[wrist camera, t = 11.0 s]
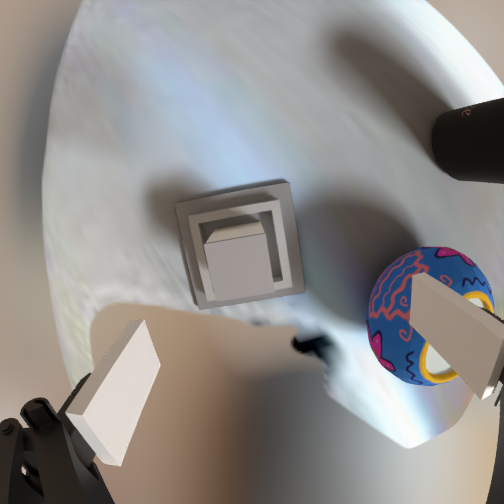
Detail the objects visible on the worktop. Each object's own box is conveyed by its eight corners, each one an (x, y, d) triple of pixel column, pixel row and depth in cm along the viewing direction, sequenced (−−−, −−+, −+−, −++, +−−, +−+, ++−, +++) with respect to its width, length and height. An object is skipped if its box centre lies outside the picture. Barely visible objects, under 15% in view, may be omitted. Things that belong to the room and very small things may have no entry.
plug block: (214, 228, 34) (203, 244, 25) (260, 220, 34) (265, 233, 25) (223, 272, 35) (216, 301, 27) (268, 265, 35) (274, 292, 27)
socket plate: (175, 203, 34) (170, 204, 32) (288, 182, 34) (291, 182, 31) (200, 307, 37) (197, 315, 35) (304, 289, 37) (308, 297, 34)
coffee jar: (473, 122, 31) (554, 111, 14) (474, 185, 34) (559, 196, 16) (426, 104, 31) (513, 77, 14) (428, 174, 34) (523, 179, 16)
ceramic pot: (398, 360, 41) (440, 417, 26) (324, 310, 38) (362, 376, 23) (461, 277, 37) (521, 312, 23) (400, 209, 35) (473, 227, 20)
